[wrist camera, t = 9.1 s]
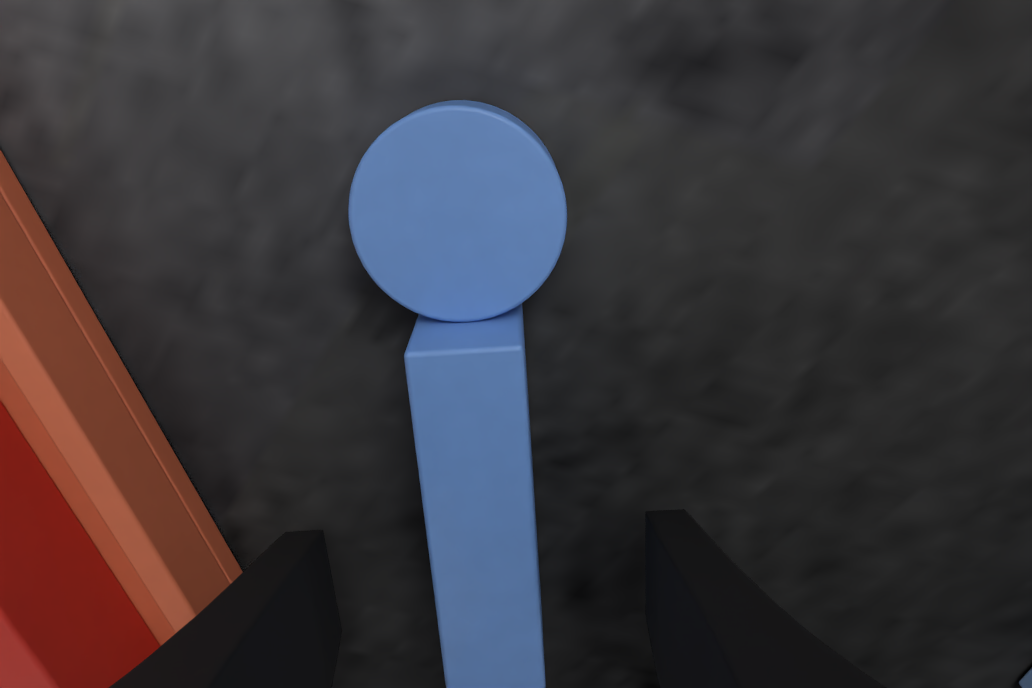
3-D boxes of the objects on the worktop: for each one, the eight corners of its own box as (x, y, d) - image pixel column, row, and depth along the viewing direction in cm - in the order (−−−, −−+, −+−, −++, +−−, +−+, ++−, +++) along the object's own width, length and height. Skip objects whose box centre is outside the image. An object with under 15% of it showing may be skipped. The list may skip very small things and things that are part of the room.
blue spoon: (578, 598, 14) (590, 691, 12) (418, 607, 14) (403, 701, 12) (557, 92, 11) (568, 101, 9) (349, 107, 11) (312, 118, 9)
